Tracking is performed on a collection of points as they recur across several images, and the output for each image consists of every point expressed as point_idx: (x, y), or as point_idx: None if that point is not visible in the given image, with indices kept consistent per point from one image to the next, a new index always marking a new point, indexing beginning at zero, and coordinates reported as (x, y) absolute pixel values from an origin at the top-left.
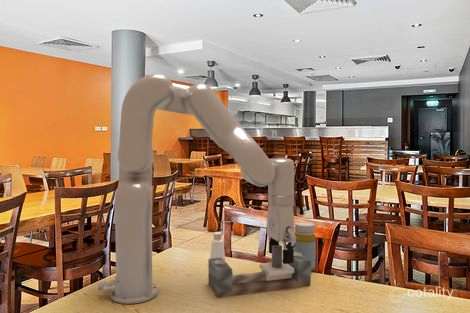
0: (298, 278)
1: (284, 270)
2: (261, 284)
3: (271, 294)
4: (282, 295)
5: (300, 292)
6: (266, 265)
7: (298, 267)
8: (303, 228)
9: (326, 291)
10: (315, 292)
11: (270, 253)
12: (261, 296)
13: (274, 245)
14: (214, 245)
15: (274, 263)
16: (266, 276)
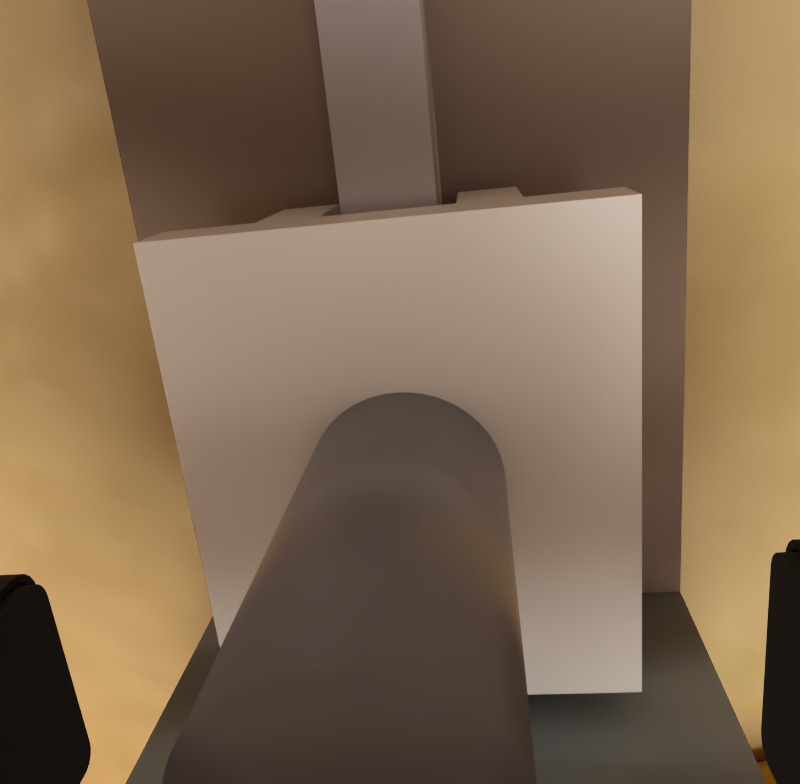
0: (202, 643)
1: (201, 537)
2: (196, 86)
3: (63, 186)
4: (28, 315)
5: (101, 541)
6: (492, 306)
7: (138, 763)
8: None
9: (109, 776)
10: (92, 677)
11: (788, 554)
12: (4, 23)
13: (454, 781)
14: None
15: (320, 450)
16: (289, 215)
